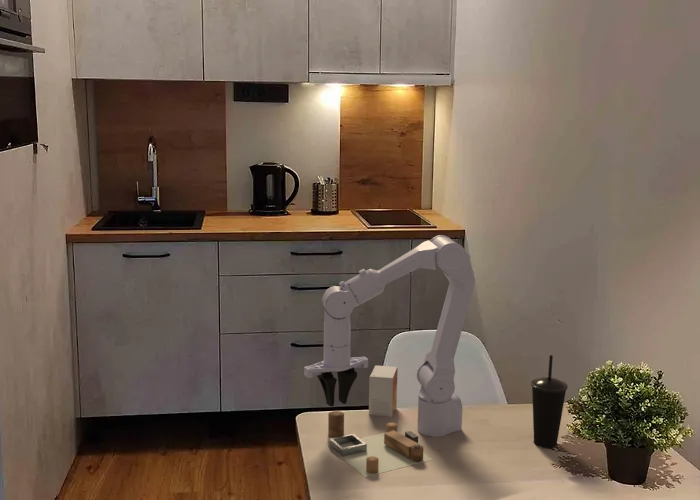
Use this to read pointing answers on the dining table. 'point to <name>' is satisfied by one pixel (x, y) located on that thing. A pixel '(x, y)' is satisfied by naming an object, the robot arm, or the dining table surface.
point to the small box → (383, 391)
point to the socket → (357, 448)
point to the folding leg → (404, 445)
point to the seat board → (380, 454)
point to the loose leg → (335, 424)
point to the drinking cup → (547, 408)
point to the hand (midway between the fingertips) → (336, 403)
